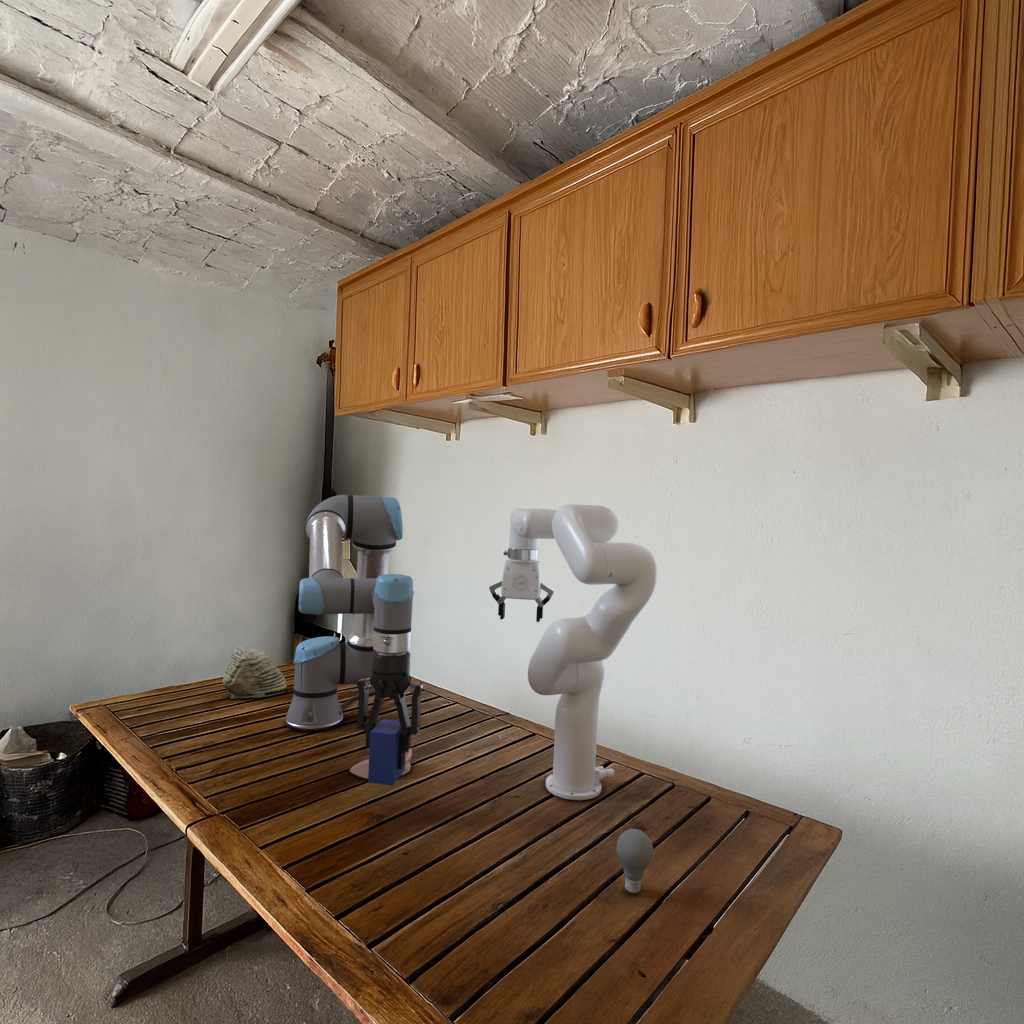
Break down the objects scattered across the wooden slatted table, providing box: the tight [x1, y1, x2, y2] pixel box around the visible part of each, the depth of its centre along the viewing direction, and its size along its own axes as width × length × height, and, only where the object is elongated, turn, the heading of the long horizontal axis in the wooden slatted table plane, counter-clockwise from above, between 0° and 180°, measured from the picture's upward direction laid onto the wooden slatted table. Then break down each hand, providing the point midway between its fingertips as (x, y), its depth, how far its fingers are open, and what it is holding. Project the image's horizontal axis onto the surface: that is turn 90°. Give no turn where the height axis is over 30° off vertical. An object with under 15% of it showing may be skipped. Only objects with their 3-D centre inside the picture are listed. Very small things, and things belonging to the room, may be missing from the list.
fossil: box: [222, 646, 288, 699], centre depth 198 cm, size 9×18×15 cm, turn 132°
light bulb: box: [615, 828, 654, 894], centre depth 106 cm, size 6×6×10 cm
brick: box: [367, 718, 406, 786], centre depth 129 cm, size 5×8×10 cm
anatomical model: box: [349, 748, 413, 780], centre depth 148 cm, size 13×4×12 cm
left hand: (387, 764), depth 129 cm, fingers closed on brick, 5 cm apart
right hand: (520, 619), depth 168 cm, fingers open, 9 cm apart
